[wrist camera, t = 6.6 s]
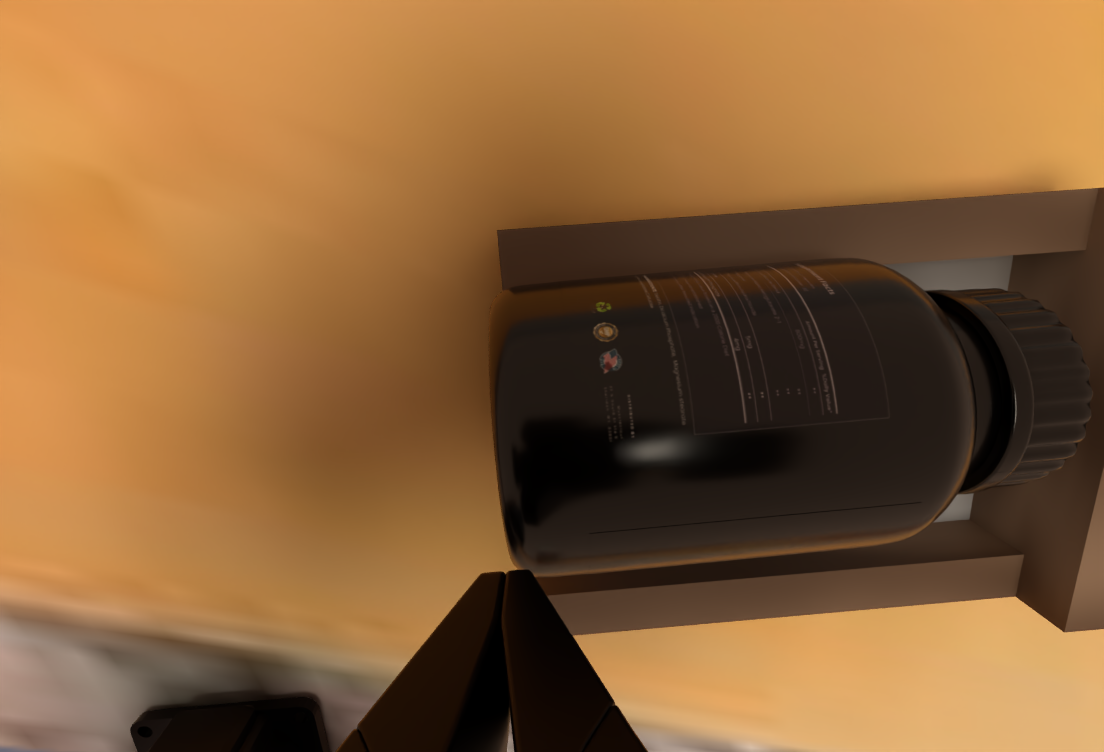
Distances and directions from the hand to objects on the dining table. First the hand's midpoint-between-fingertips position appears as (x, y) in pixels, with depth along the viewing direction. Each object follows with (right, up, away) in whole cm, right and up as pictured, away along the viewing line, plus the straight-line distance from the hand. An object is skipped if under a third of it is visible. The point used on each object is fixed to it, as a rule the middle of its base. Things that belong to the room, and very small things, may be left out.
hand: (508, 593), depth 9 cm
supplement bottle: (-1, +2, +4) cm, 4 cm away
